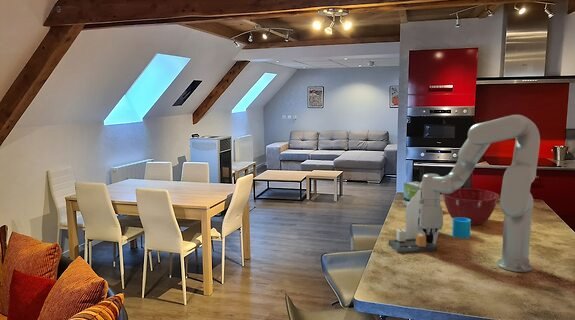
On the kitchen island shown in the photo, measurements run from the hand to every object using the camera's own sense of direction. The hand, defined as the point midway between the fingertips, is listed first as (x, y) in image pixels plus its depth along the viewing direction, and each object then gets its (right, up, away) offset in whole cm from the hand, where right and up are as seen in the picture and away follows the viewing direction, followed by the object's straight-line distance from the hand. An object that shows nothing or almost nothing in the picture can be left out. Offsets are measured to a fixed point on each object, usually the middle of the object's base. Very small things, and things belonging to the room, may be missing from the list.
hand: (429, 242), depth 204 cm
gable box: (+3, -1, +20) cm, 20 cm away
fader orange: (-4, -1, 0) cm, 4 cm away
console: (-6, -3, +4) cm, 8 cm away
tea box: (+16, +7, +77) cm, 79 cm away
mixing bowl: (+35, +3, +45) cm, 57 cm away
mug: (+23, 0, +22) cm, 32 cm away
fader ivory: (-11, 0, +7) cm, 13 cm away
